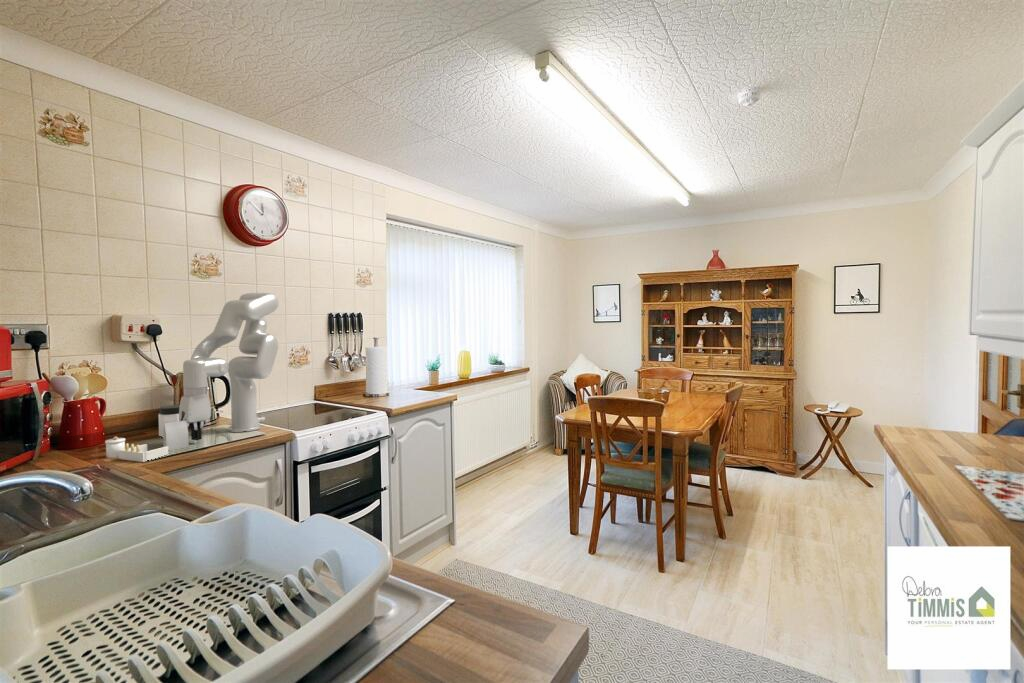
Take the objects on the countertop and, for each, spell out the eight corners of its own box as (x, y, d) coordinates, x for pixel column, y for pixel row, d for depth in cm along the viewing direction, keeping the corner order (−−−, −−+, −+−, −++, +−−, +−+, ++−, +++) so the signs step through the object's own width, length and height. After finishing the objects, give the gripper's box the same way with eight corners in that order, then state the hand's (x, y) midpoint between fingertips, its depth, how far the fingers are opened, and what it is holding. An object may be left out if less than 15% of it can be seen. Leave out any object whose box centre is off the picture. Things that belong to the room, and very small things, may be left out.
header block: (145, 452, 167) (145, 437, 167) (168, 455, 164) (168, 439, 164) (119, 459, 159) (118, 443, 159) (143, 462, 156) (142, 445, 155)
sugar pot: (118, 453, 166) (118, 434, 166) (129, 454, 165) (129, 435, 164) (101, 457, 161) (101, 437, 161) (112, 458, 159) (112, 438, 159)
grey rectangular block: (188, 447, 174) (188, 421, 173) (166, 451, 168) (166, 424, 168) (185, 446, 176) (184, 419, 175) (163, 449, 171) (162, 422, 170)
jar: (171, 433, 196) (170, 404, 195) (190, 433, 195) (189, 404, 195) (153, 438, 187) (153, 408, 186) (173, 438, 187) (172, 408, 186)
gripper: (205, 388, 187) (206, 434, 188) (168, 394, 173) (169, 443, 174) (220, 389, 185) (221, 435, 186) (184, 395, 171) (185, 445, 171)
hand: (196, 439), depth 180 cm, fingers closed
